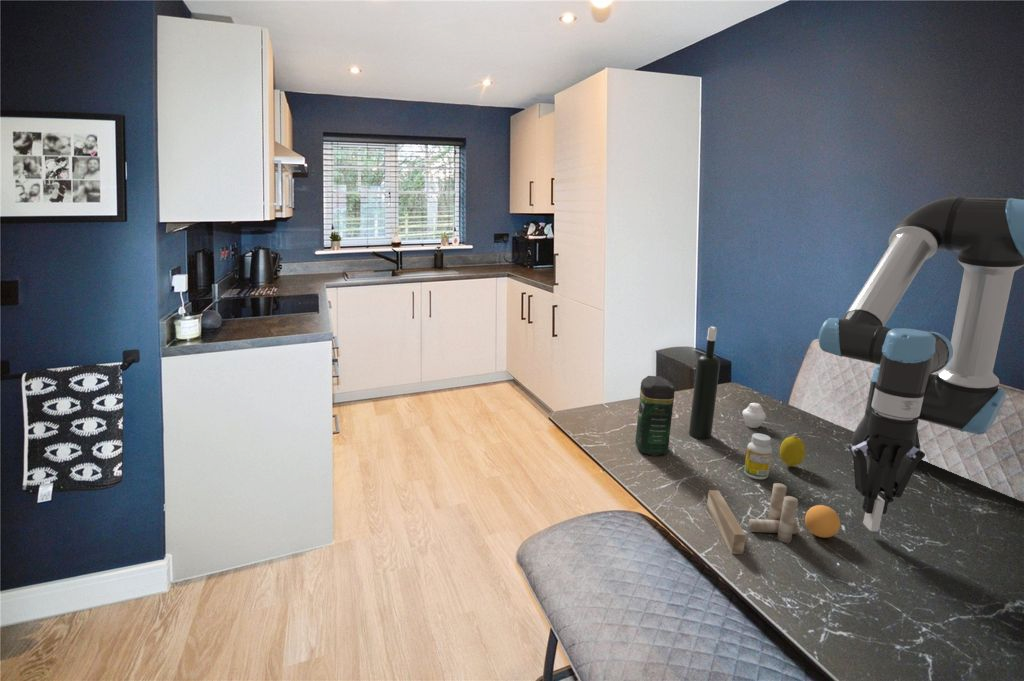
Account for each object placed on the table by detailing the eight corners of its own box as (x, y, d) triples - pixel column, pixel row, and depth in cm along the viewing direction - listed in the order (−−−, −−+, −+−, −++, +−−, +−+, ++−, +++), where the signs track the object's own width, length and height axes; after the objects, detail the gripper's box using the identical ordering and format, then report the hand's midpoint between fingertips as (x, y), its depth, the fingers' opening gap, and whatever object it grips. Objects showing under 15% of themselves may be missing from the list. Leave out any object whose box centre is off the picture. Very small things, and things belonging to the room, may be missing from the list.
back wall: (716, 507, 122) (718, 490, 121) (742, 554, 107) (745, 534, 106) (706, 507, 122) (708, 490, 121) (731, 553, 107) (734, 534, 106)
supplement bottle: (763, 482, 134) (769, 443, 131) (740, 474, 137) (745, 436, 135) (771, 474, 138) (777, 436, 135) (748, 467, 141) (753, 430, 139)
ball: (794, 508, 116) (807, 530, 117) (808, 525, 110) (822, 549, 111) (822, 493, 115) (835, 517, 116) (838, 510, 109) (851, 534, 110)
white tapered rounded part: (761, 423, 169) (765, 400, 167) (766, 431, 163) (769, 407, 161) (739, 420, 170) (742, 398, 168) (742, 429, 164) (746, 405, 162)
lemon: (805, 473, 139) (810, 442, 137) (780, 470, 140) (785, 439, 138) (799, 462, 144) (804, 432, 142) (775, 460, 145) (779, 430, 143)
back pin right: (777, 521, 118) (783, 483, 116) (782, 528, 116) (788, 489, 114) (765, 521, 118) (771, 482, 116) (770, 527, 116) (776, 488, 114)
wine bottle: (685, 430, 161) (697, 324, 154) (705, 430, 162) (718, 324, 154) (693, 439, 156) (706, 329, 148) (714, 439, 157) (728, 329, 149)
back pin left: (787, 535, 113) (794, 496, 111) (793, 543, 111) (800, 502, 109) (775, 535, 113) (781, 495, 111) (780, 542, 111) (787, 502, 109)
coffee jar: (671, 457, 145) (679, 386, 140) (639, 456, 145) (645, 385, 140) (663, 441, 154) (670, 373, 150) (632, 439, 154) (638, 372, 150)
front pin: (793, 518, 115) (749, 516, 115) (798, 525, 113) (753, 523, 113) (791, 529, 116) (747, 527, 116) (796, 536, 113) (752, 534, 114)
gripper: (870, 419, 104) (846, 536, 110) (944, 422, 104) (917, 540, 110) (847, 404, 111) (827, 515, 117) (917, 407, 111) (893, 518, 117)
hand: (870, 527), depth 114 cm, fingers closed
